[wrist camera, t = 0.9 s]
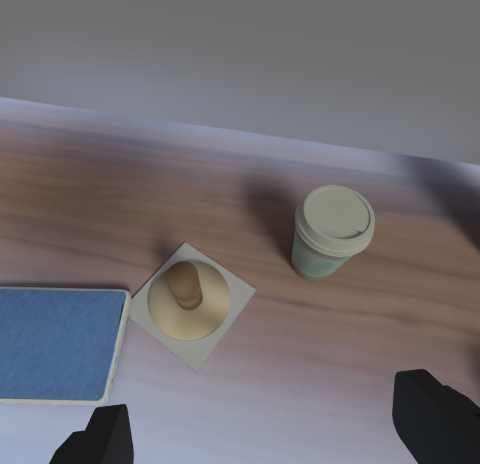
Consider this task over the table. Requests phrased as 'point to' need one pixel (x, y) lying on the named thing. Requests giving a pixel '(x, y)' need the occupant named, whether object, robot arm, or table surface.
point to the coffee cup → (330, 230)
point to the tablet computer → (60, 344)
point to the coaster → (202, 348)
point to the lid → (189, 300)
